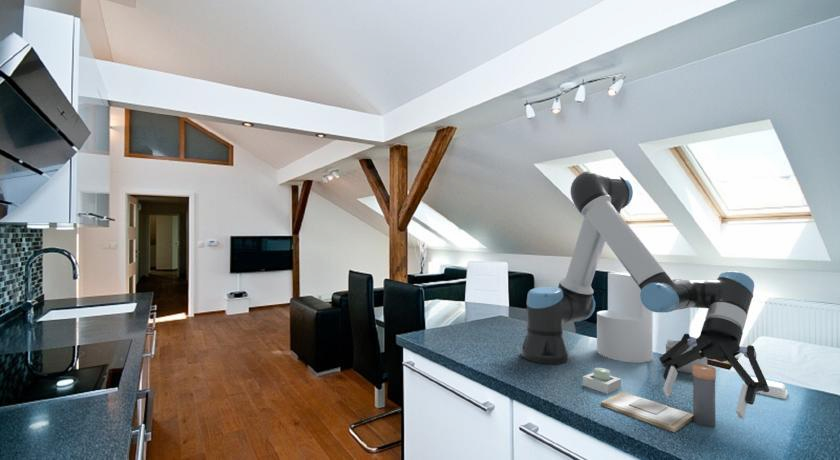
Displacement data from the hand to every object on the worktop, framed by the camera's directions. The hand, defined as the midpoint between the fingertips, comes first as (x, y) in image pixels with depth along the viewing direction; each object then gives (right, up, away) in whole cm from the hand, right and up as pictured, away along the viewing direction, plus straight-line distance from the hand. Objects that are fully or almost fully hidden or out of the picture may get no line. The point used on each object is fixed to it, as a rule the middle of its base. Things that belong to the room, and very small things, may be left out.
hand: (700, 403), depth 84 cm
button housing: (-12, -5, +21) cm, 25 cm away
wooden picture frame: (-8, -5, +6) cm, 11 cm away
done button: (-12, -4, +21) cm, 25 cm away
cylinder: (+10, -6, +51) cm, 52 cm away
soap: (+32, -6, +20) cm, 38 cm away
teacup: (+22, -6, +37) cm, 43 cm away
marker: (+2, -5, +1) cm, 5 cm away
